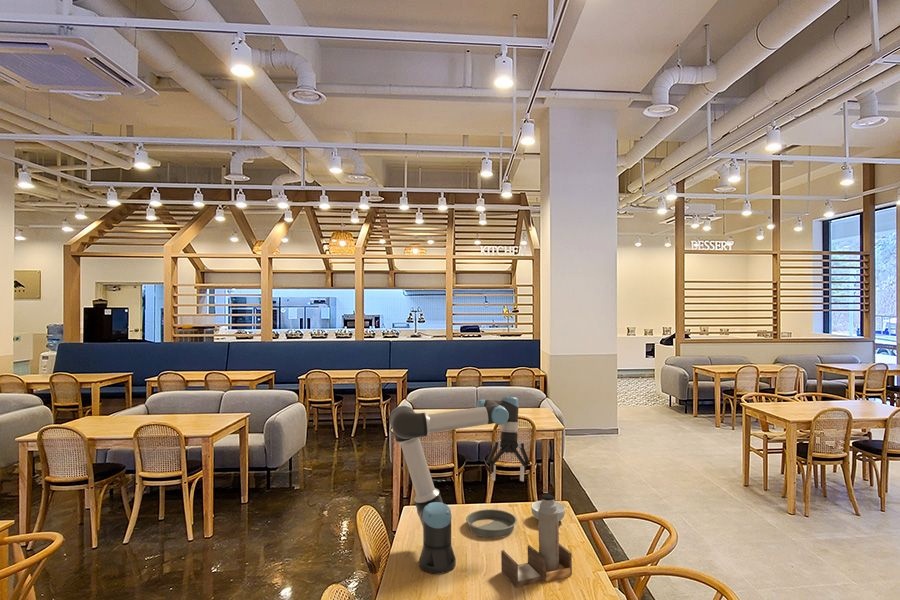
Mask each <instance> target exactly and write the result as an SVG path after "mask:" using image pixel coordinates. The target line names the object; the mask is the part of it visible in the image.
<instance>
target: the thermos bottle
mask: <svg viewBox="0 0 900 600" xmlns="http://www.w3.org/2000/svg"><path fill="white" fill-rule="evenodd" d="M541 498H542V499H541V501H542V502H541V503H540V508H539V509H538V520H537V521H538V522H537V523H538V553H540V554H541V555H542V556H543V557H544V558H545V570H546V571H555V570H558V569H559V544H560V543H559V542H560V537H559V535H560V532H559V531H560V530H559V529H560V528H559V527H560V526H559V525H560V524H559V522H560V521H558V510H557V506H556V504H555V503H554V501H555V496H554V495H553V494H550V493H549V494H547V493H546V494H542V495H541Z"/></svg>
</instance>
